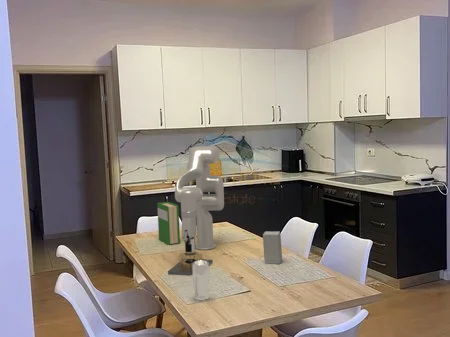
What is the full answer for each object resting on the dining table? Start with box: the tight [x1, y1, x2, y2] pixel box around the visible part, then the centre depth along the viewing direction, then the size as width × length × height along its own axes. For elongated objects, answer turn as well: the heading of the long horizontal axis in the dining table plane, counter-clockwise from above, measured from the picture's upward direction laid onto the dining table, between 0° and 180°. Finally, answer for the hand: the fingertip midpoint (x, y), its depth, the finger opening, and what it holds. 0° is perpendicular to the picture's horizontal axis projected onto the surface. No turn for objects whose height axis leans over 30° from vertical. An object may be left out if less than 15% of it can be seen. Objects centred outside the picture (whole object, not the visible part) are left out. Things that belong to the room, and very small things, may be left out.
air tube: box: [185, 235, 196, 263], centre depth 227 cm, size 5×5×16 cm
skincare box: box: [262, 231, 283, 265], centre depth 232 cm, size 8×7×16 cm
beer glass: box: [192, 260, 210, 301], centre depth 186 cm, size 7×7×15 cm
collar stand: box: [167, 251, 213, 276], centre depth 227 cm, size 22×16×8 cm
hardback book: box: [156, 201, 181, 246], centre depth 283 cm, size 18×7×24 cm, turn 28°
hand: (190, 250), depth 227 cm, fingers open, 4 cm apart
